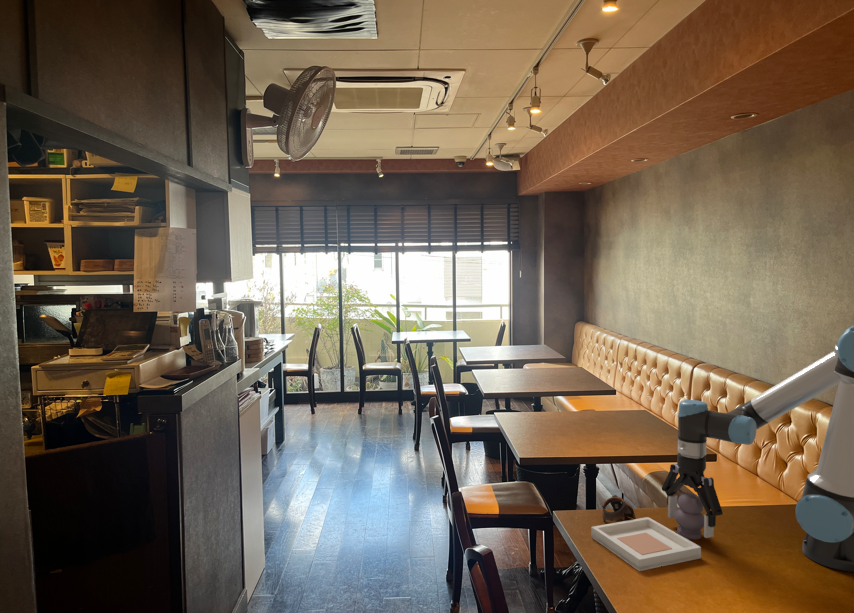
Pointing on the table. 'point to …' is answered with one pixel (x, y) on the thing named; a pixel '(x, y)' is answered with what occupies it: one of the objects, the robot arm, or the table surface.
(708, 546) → the table surface
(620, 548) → the tray
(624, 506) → the pottery mug
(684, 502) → the cat figurine
